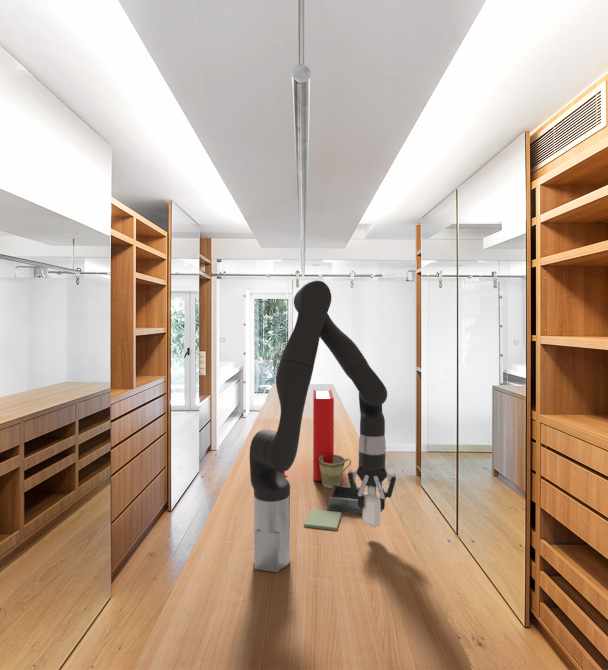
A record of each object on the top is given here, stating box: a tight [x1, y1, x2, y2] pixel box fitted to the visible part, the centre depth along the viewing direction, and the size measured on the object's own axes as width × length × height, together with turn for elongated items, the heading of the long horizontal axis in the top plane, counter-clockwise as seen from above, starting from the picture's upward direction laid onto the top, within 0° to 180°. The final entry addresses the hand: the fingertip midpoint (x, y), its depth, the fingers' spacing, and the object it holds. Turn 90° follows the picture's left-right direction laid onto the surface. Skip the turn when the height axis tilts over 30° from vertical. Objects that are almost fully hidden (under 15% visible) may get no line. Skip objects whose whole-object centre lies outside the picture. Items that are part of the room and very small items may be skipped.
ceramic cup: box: [319, 454, 352, 489], centre depth 150 cm, size 13×10×10 cm
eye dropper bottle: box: [362, 486, 382, 528], centre depth 112 cm, size 4×6×12 cm
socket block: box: [326, 485, 366, 515], centre depth 133 cm, size 12×12×4 cm
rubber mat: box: [303, 508, 342, 531], centre depth 122 cm, size 10×10×1 cm
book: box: [312, 389, 335, 482], centre depth 166 cm, size 27×8×32 cm, turn 178°
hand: (371, 509), depth 112 cm, fingers closed on eye dropper bottle, 4 cm apart
